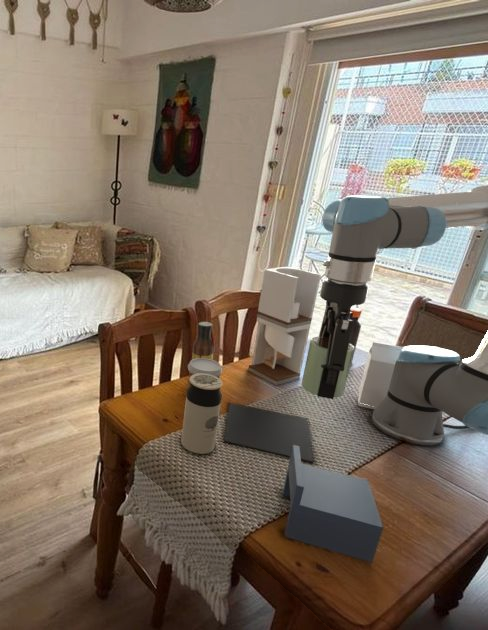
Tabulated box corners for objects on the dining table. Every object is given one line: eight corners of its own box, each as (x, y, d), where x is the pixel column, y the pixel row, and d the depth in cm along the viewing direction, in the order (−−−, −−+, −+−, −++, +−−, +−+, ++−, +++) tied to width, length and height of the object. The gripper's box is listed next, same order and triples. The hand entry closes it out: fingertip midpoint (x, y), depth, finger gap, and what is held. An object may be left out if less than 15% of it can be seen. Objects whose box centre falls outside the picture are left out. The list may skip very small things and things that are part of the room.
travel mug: (175, 437, 112) (182, 374, 106) (203, 433, 113) (212, 371, 107) (190, 457, 104) (199, 390, 98) (220, 452, 106) (230, 386, 100)
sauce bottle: (212, 380, 141) (220, 323, 134) (207, 388, 136) (215, 329, 129) (192, 375, 144) (199, 318, 138) (186, 383, 139) (193, 324, 133)
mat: (306, 419, 120) (306, 418, 120) (313, 463, 103) (313, 461, 103) (229, 403, 128) (229, 402, 127) (224, 441, 110) (224, 440, 110)
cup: (339, 383, 93) (350, 339, 89) (346, 400, 86) (358, 353, 83) (299, 377, 95) (308, 334, 92) (303, 393, 89) (312, 347, 85)
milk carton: (387, 413, 124) (405, 351, 118) (358, 406, 127) (374, 346, 121) (385, 402, 130) (402, 343, 123) (357, 395, 133) (372, 337, 127)
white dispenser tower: (248, 370, 149) (264, 269, 137) (270, 364, 153) (288, 266, 141) (275, 384, 139) (296, 277, 127) (299, 378, 143) (321, 274, 131)
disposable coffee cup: (213, 394, 133) (218, 358, 129) (220, 410, 124) (226, 372, 120) (181, 392, 134) (185, 356, 130) (186, 408, 125) (191, 371, 121)
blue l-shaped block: (358, 511, 89) (373, 462, 85) (372, 562, 77) (389, 509, 73) (282, 491, 94) (292, 444, 90) (284, 537, 82) (296, 485, 78)
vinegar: (349, 360, 157) (363, 307, 150) (352, 368, 151) (366, 313, 144) (328, 357, 159) (340, 304, 153) (330, 364, 153) (342, 310, 147)
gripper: (316, 267, 93) (297, 364, 101) (332, 292, 75) (307, 408, 83) (357, 270, 91) (334, 369, 98) (383, 297, 73) (353, 416, 80)
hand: (322, 387), depth 90 cm, fingers closed on cup, 8 cm apart
